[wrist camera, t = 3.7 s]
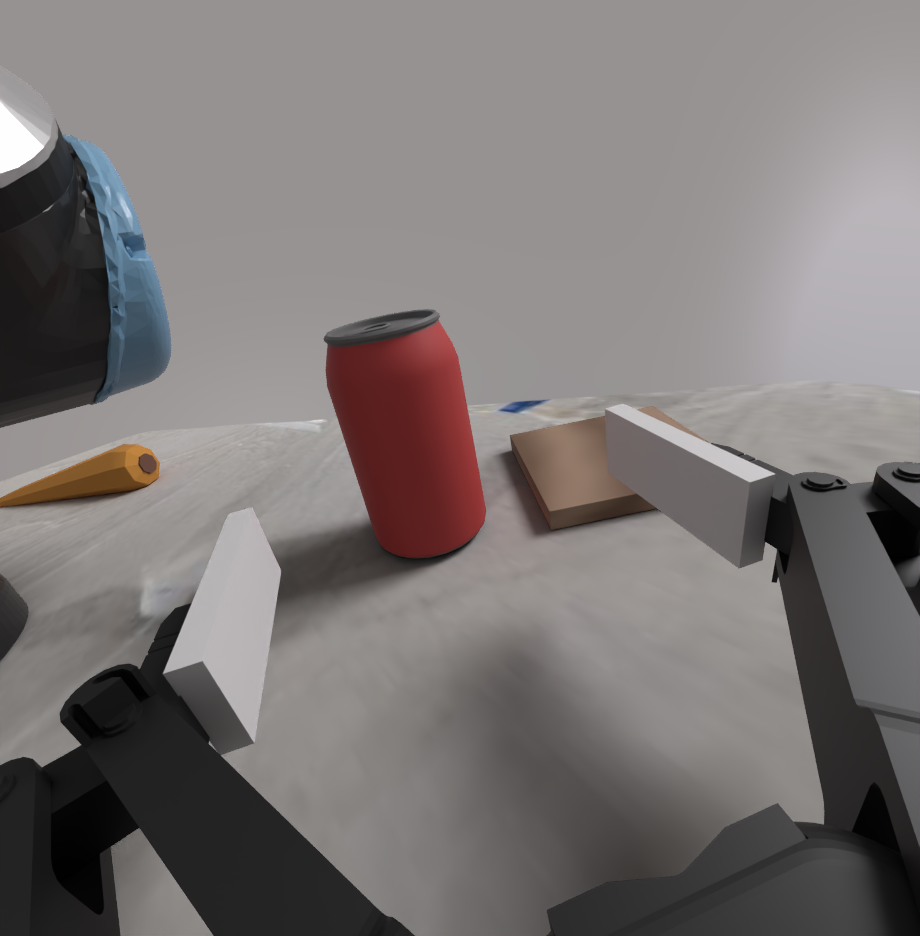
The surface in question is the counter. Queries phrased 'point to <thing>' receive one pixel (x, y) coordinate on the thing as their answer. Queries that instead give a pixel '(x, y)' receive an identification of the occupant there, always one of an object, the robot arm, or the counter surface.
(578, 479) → the walnut board
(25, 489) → the carrot
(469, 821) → the counter surface
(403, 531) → the beer can
